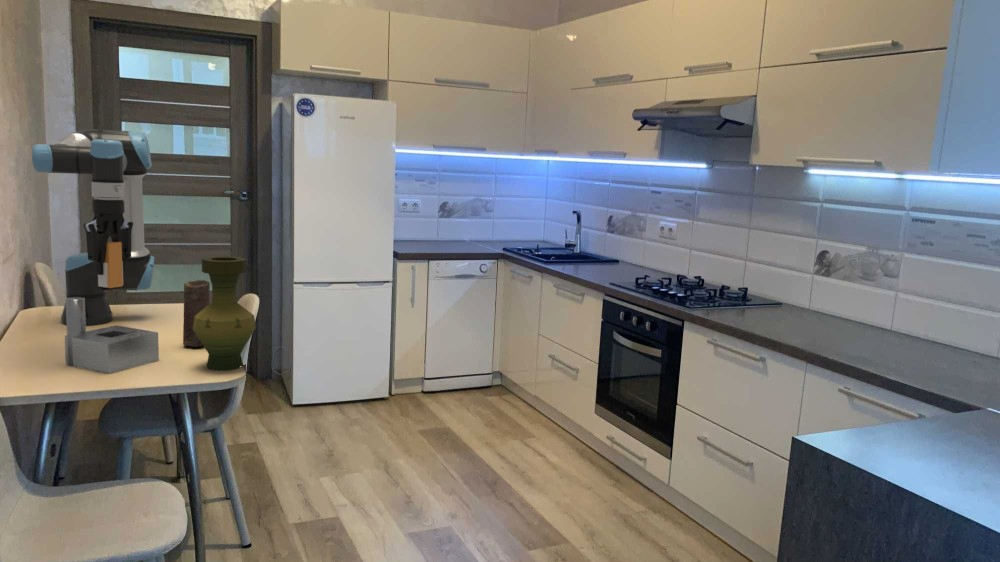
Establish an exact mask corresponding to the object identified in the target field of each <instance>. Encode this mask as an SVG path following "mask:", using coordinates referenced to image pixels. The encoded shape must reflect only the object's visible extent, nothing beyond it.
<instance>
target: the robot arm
mask: <svg viewBox="0 0 1000 562" xmlns="http://www.w3.org/2000/svg"><path fill="white" fill-rule="evenodd" d="M151 155H152V154H151V150H150V145H149V140H148V138H147V136H146V134H144V133H142V132H138V131H132V130H113V129H112V130H111V129H97V128H96V129H94V128H91V129H83V130H77V131H73V132H70V133H68V134H65V135H64V136H62V137H61V139H59V142H57V143H54V144H48V143H44V144H43V143H42V144H41V143H38V144H34V145H33V146H32V149H31V161H32V166H33V169H34V170H35V171H36V172H38V173H47V174H75V175H76V174H77V175H91V197H93V199H92V200H91V202H92V203H91V206H92V207H91V208H92V209H91V210H92V212H93V215H94V216H93V219H92V221H91V222H89V223H83V228H84V231H85V234H86V236H85V237H86V250H87V251H86V252H81V253H77V254H71V255H70V256H67V258H66V259H65V262H64V263H65V268H64V273H65V290H66V291H65V292H66V296H65V297H66V299H67V298H73V297H82V298H85V318H86V326H95V325H103V324H107V323H110V322H112V321H113V317H114V316H113V312H112V310H111V307H110V305H109V302H108V299H107V291H143V290H145V291H146V290H148V289H150V288H151V287H152V282H153V274H154V268H155V267H154V266H155V256H153V255H150V254H151V252H150V250H149V249H148V248H147V247H145V245H146V244H145V225H144V201H143V200H144V199H143V198H144V197H143V193H144V192H143V178H144V177H145V176H146V175H147V173H148V170H149V169H151V168H152V156H151ZM109 238H110V239H111V241H112V242H122V279H123V286H121V287H114V288H106V287H108V268H107V263H104V261H105V255H106V243H107V241H109ZM99 286H100V287H99ZM60 322H61V323H62V324H64V325H67V321H66V302H65V304H64V307H63V310H62V313H61V316H60Z"/></svg>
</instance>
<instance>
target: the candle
mask: <svg viewBox="0 0 1000 562" xmlns="http://www.w3.org/2000/svg"><path fill="white" fill-rule="evenodd" d="M210 284H211V282H210V281H207V280H204V279H203V280H202V279H194V280H190V281H187V282H184V283H183V325H182V327H183V329H182V331H183V332H182V343H183V346H187V347H190V348H199V347H201V346H203V344H202V343H201V341H200V340H199V338H198V336H197V335H196V333H195V332H194V330H193V322H194V316H195V315H196V314H198V313H199V312H200V311H202V310H203V309H204V308H205V307H207V306H208V305H209V304H210V288H211V287H210V286H211V285H210Z"/></svg>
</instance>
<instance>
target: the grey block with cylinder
mask: <svg viewBox="0 0 1000 562" xmlns="http://www.w3.org/2000/svg"><path fill="white" fill-rule="evenodd" d="M65 303H66V321H67V324H66V335H63V337H64V354H65V357H64V359H65V366H69V367H74V368H78V367H79V368H80V369H83V368H84V370H89V371H93V372H97V373H98V372H100V373H102V374H103V373H104V374H108V375H109V374H113V373H118V372H120V371H124V370H129V369H131V368H136V367H138V366H143V365H146V364H149V363H153V362H157V361H159V360H160V356H159V354H160V353H159V332H158V331H152V330H145V329H140V328H136V327H135V328H133V327H129V326H123V325H119V324H117V325H112V326H107V327H102V328H97V329H92V330H87V325H86V318H85V298H82V297H73V298H67V297H66V298H65Z"/></svg>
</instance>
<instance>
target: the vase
mask: <svg viewBox="0 0 1000 562" xmlns="http://www.w3.org/2000/svg"><path fill="white" fill-rule="evenodd" d="M201 272H202V273H203V274H208V276H209V280H210V284H211V294H212V295H211V299H212V300H211V303H209V305H208V306H207V307H205V308H204V309H203V310H202V311H200V312H199V313H198V314H196V315H195V316H194V322H193V330H194V332H195V333H196V335H197V336H198V338H199V340H200V341H201V343H202V344H203V345H202V347H203V348H204V349H205V350H206V352H207V355H208V357H207V362H206V366H207V367H206V368H207V369H208V370H211V371H221V372H222V371H223V372H224V371H226V372H227V371H234V370H237V368H238V369H240V368H239V367H240V366H242V367H243V366H244V364H243V363H244V362H243V359H242V358H243V357H242V355H241V354H242V351H243V350H244V348H245V347H246V345H247V343H248V342H249V340H250V339H251V337H252V335H253V334H254V332H255V331H256V329H257V326H256V319H255V315H254V314H253V313H252V312H250V311H249V310H248V309H246V308H245V307H244V306H242V305H241V304H240V303H238V302H237V297H238V295H237V286H238V282H239V278H240V274H245V273H246V272H247V259H246V258H244V257H239V256H226V255H225V256H223V255H222V256H209V257H208V256H206V257H203V258H201Z"/></svg>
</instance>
